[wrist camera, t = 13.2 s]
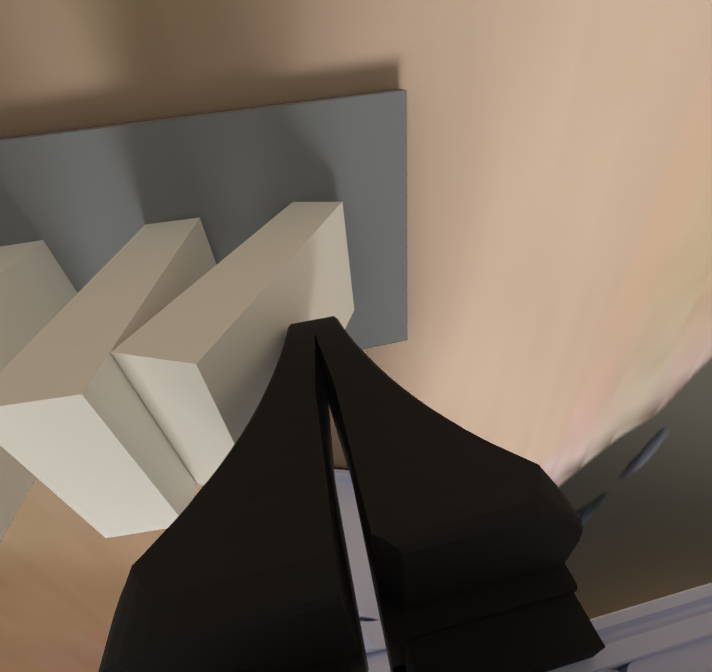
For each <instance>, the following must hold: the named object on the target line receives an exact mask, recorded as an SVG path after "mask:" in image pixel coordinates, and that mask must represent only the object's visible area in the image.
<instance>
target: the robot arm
mask: <svg viewBox="0 0 712 672" xmlns="http://www.w3.org/2000/svg"><path fill="white" fill-rule="evenodd" d="M329 406H330V410H331V413H332V416H333V420H334V423H335V426H336V429H337V433H338V436H339V439H340V443H341V446H342V449H343V452H344V456H345V459H346V462H347V466H348V469H349V470H340V469H334V462H333V451H332V439H331V427H330V415H329ZM582 531H583V524H582V519H581V518H580V516H579V515H578V513H577V512H576V511H575V509H574V508H573V506H572V505H571V503H570V502H569V501H568V499H567V498H566V497H565V495H564V494H563V493H562V492H561V491H560V489H559V488H558V486H557V485H556V484H555V483H554V482H553V481H552V480H551V478H550V477H549V476H548V475H547V474H546V473H545V472H544V470H543V469H542V468H541V467H540V466H539V465H538V464H536V463H534V462H531V461H529V460H527V459H525V458H523V457H520V456H518V455H516V454H514V453H512V452H509V451H507V450H505V449H503V448H501V447H498V446H496V445H494V444H492V443H490V442H488V441H486V440H484V439H482V438H480V437H478V436H476V435H474V434H473V433H471V432H469V431H467V430H465V429H463V428H462V427H460V426H459V425H457V424H455V423H454V422H452V421H450V420H449V419H447V418H445V417H444V416H442V415H441V414H439V413H437V412H436V411H434V410H432V409H431V408H429V407H428V406H427V405H425V404H424V403H422V402H421V401H419V400H418V399H417V398H415V397H414V396H413V395H411V394H410V393H409V392H407V391H406V390H405V389H403V388H402V387H401V386H400V385H398V384H397V383H396V382H395V381H394V380H393V379H391V378H390V377H389V376H388V375H387V374H386V373H385V372H384V371H382V370H381V369H380V368H379V367H378V366H377V365H376V364H375V363H374V362H373V361H372V360H371V359H370V358H369V357H368V356H367V355H366V354H365V353H364V352H363V351H362V350H361V348H360V347H359V346H358V345H357V344H356V343H355V342H354V341H353V339H352V338H351V337H350V336H349V334H348V333H347V332H346V330H345V329H344V328H343V326H342V325H341V323H340V322H339V320H338V319H337V318H336V317H334V316H331V317H326V318H320V319H315V320H310V321H304V322H299V323H294V324H291V325H290V326H289V327H288V329H287V335H286V339H285V342H284V346H283V349H282V352H281V355H280V358H279V360H278V363H277V365H276V368H275V370H274V373H273V375H272V378H271V380H270V382H269V384H268V386H267V388H266V390H265V392H264V395H263V397H262V399H261V401H260V403H259V405H258V406H257V408H256V410H255V412H254V414H253V415H252V417H251V419H250V421H249V422H248V424H247V426H246V427H245V429H244V431H243V432H242V434H241V435H240V437H239V438H238V440H237V441H236V443H235V444H234V446H233V447H232V449H231V450H230V452H229V453H228V455H227V456H226V457H225V459H224V460H223V462H222V463H221V464H220V466H219V467H218V468H217V470H216V471H215V472H214V474H213V475H212V476H211V477H210V479H209V480H208V481H207V482H206V483H205V485H204V486H203V487H202V488H201V490H200V491H199V492H198V493H197V495H196V496H195V497H194V498H193V500H192V501H191V502H190V503H189V505H188V506H187V507H186V508H185V509H184V510H183V512H182V513H181V514H180V515H179V516H178V517H177V518H176V520H175V521H174V522H173V523H172V524H171V525H170V526H169V527H168V528H167V529H166V530H165V531H164V533H163V534H162V535H161V536H160V537H159V538H158V539H157V540H156V541H155V542H154V543H153V544H152V546H151V547H150V548H149V549H148V550H147V551H146V552H145V553H144V554H143V555H142V556H141V557H140V558H139V559H138V560H137V561H136V562H135V563H134V564H133V565H132V567H131V570H130V573H129V576H128V578H127V581H126V584H125V586H124V589H123V591H122V593H121V596H120V599H119V602H118V605H117V608H116V611H115V614H114V617H113V621H112V625H111V628H110V632H109V635H108V639H107V643H106V646H105V650H104V654H103V657H102V661H101V665H100V668H99V672H712V583H709V584H706V585H702V586H699V587H696V588H692V589H690V590H686V591H682V592H679V593H676V594H672V595H669V596H666V597H663V598H659V599H656V600H652V601H649V602H646V603H643V604H639V605H636V606H633V607H630V608H626V609H623V610H619V611H616V612H613V613H609V614H606V615H603V616H600V617H596V618H593V619H589V618H588V616H587V614H586V613H585V611H584V610H583V608H582V606H581V604H580V602H579V601H578V599H577V597H576V596H575V594H574V592H575V591H576V590H577V584H576V582H575V580H574V578H573V577H572V575H571V573H570V572H569V570H568V568H567V567H566V565H565V562H566V560H567V559H568V557H569V556H570V554H571V553H572V551H573V550H574V548H575V546H576V545H577V543H578V542H579V539H580V537H581V534H582Z"/></svg>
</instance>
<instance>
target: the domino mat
mask: <svg viewBox="0 0 712 672" xmlns="http://www.w3.org/2000/svg"><path fill="white" fill-rule="evenodd" d="M292 202H343V211H344V220H345V229H346V238H347V247H348V256H349V266H350V275H351V284H352V293H353V302H354V312H353V314H352V316H351V318H350V320H349V322H348V324H347V326H346V328H345V330H346V332H347V333H348V334H349V336H350V337H351V338H352V339H353V341H354V342H355V343H356V344H357V345H358V346H359V347H360V348H361V349H365V348H370V347H375V346H380V345H385V344H390V343H395V342H400V341H405V340H407V132H406V90H401V89H397V90H389V91H381V92H373V93H365V94H357V95H349V96H341V97H333V98H325V99H317V100H308V101H300V102H292V103H284V104H276V105H268V106H260V107H252V108H244V109H236V110H228V111H220V112H212V113H204V114H196V115H188V116H179V117H171V118H163V119H155V120H147V121H139V122H131V123H123V124H115V125H107V126H99V127H91V128H83V129H75V130H67V131H59V132H51V133H42V134H34V135H26V136H18V137H10V138H2V139H0V246H7V245H13V244H20V243H27V242H33V241H40V240H44V242H45V244H46V245H47V247H48V248H49V250H50V251H51V253H52V254H53V256H54V257H55V259H56V261H57V262H58V264H59V265H60V267H61V268H62V270H63V271H64V273H65V274H66V276H67V277H68V279H69V281H70V282H71V284H72V285H73V287H74V288H75V290H76V291H77V293H78V292H79V291H80V290H81V289H82V288H83V287H84V286H85V285H86V284H87V283H88V282H89V281H90V280H91V279H92V278H93V277H94V276H95V275H96V274H97V273H98V272H99V271H100V270H101V269H102V268H103V267H104V266H105V265H106V264H107V263H108V262H109V261H110V260H111V259H112V258H113V257H114V256H115V255H116V254H117V253H118V252H119V251H120V250H121V248H122V247H123V246H124V245H125V244H126V243H127V242H128V241H129V240H130V239H131V238H132V237H133V236H134V235H135V234H136V233H137V232H138V231H139V230H140V229H141V228H142V227H143V226H144V225H145V224H152V223H160V222H168V221H176V220H184V219H191V218H199V217H200V219H201V222H202V225H203V228H204V231H205V234H206V236H207V239H208V242H209V245H210V248H211V250H212V253H213V256H214V259H215V262H216V264H218V263H219V262H221V261H222V260H223V259H224V258H225V257H227V256H228V255H229V254H230V253H231V252H233V251H234V250H235V249H236V248H237V247H239V246H240V245H241V244H242V243H244V242H245V241H246V240H247V239H248V238H250V237H251V236H252V235H253V234H254V233H256V232H257V231H258V230H259V229H261V228H262V227H263V226H264V225H265V224H267V223H268V222H269V221H270V220H271V219H273V218H274V217H275V216H276V215H278V214H279V213H280V212H281V211H282V210H284V209H285V208H286V207H287V206H288V205H290V204H291V203H292Z"/></svg>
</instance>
